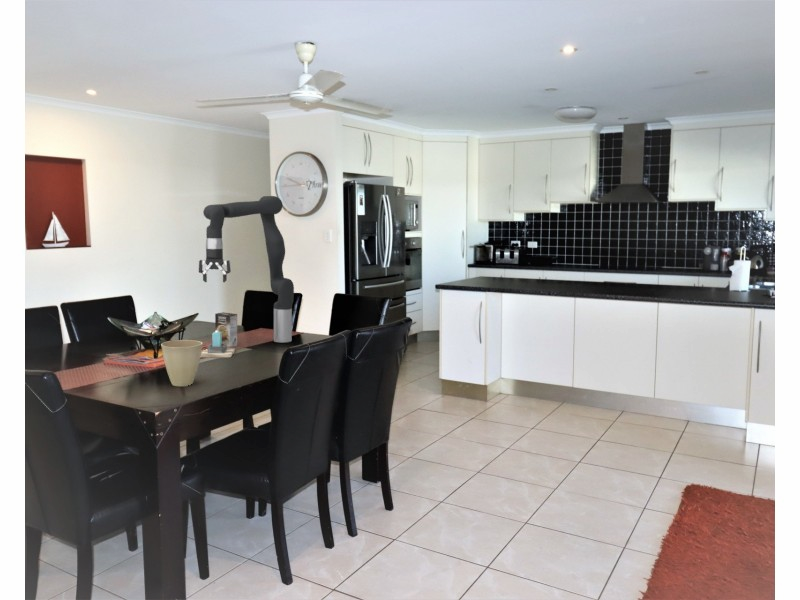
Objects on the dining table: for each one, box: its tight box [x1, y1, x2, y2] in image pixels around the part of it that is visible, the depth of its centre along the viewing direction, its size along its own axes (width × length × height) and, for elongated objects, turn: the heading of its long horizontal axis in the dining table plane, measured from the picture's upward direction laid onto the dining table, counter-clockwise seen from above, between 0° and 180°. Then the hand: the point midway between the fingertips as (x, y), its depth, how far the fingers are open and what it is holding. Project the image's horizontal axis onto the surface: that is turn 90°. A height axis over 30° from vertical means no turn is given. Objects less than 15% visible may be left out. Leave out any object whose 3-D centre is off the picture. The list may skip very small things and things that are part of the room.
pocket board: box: [200, 343, 236, 358], centre depth 291 cm, size 14×14×4 cm
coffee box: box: [214, 311, 238, 348], centre depth 310 cm, size 9×6×16 cm
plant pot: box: [160, 339, 203, 387], centre depth 237 cm, size 15×15×16 cm
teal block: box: [211, 331, 222, 347], centre depth 290 cm, size 4×4×10 cm
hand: (214, 282), depth 293 cm, fingers open, 8 cm apart
